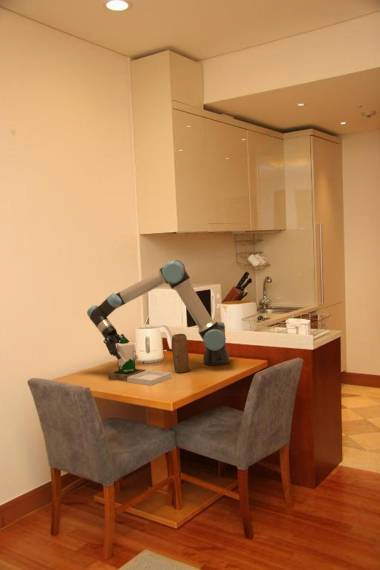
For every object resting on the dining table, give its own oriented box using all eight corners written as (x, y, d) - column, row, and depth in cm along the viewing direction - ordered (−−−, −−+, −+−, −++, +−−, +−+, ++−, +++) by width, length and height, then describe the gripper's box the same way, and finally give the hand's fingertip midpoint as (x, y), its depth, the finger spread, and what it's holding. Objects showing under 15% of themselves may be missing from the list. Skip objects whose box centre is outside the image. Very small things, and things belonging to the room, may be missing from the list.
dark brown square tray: (146, 375, 289) (145, 369, 289) (128, 381, 278) (127, 375, 278) (127, 372, 298) (126, 367, 297) (108, 378, 286) (108, 373, 286)
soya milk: (133, 374, 294) (130, 337, 292) (137, 377, 285) (135, 340, 284) (117, 376, 290) (114, 339, 289) (121, 380, 282) (118, 342, 280)
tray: (171, 377, 280) (171, 372, 280) (151, 385, 267) (150, 380, 267) (148, 374, 290) (147, 370, 290) (127, 382, 277) (127, 377, 277)
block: (190, 372, 290) (187, 335, 288) (176, 374, 288) (174, 336, 286) (185, 368, 300) (183, 332, 299) (172, 369, 298) (169, 333, 297)
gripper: (118, 330, 304) (141, 361, 296) (89, 337, 287) (113, 370, 278) (124, 321, 301) (148, 352, 292) (95, 328, 283) (119, 360, 275)
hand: (130, 361), depth 285 cm, fingers closed on soya milk, 9 cm apart
